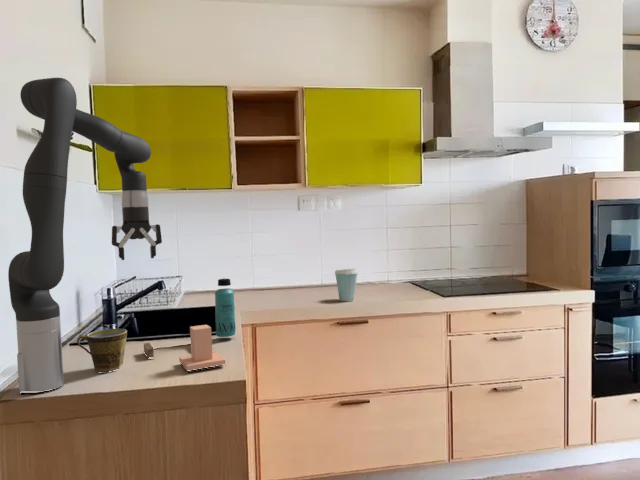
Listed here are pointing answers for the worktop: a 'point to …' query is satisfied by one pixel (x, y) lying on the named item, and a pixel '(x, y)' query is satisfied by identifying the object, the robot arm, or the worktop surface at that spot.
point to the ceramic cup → (106, 348)
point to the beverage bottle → (224, 310)
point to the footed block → (201, 350)
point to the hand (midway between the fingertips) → (137, 259)
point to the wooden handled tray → (148, 350)
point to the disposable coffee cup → (346, 283)
